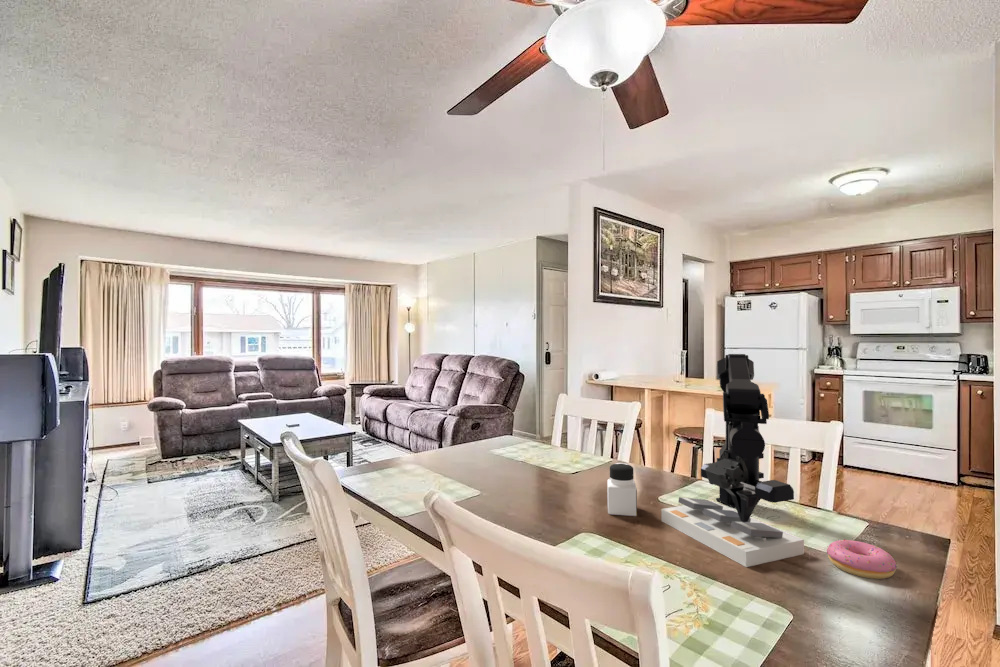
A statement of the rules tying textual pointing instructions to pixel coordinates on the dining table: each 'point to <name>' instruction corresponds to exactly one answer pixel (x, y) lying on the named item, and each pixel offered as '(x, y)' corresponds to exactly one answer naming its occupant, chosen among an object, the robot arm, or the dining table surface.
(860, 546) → the doughnut
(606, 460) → the dining table surface
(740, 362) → the robot arm
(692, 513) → the switch unit
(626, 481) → the medicine bottle
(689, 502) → the block
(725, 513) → the rocker middle
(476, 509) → the dining table surface
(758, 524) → the rocker
